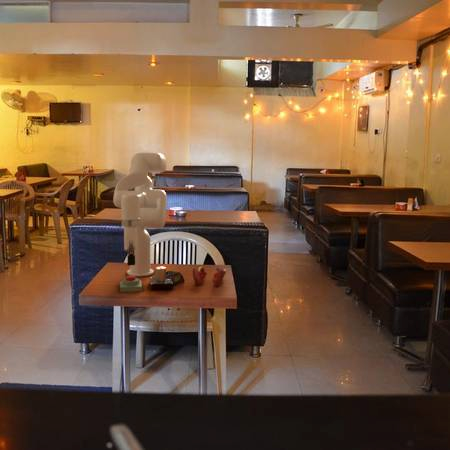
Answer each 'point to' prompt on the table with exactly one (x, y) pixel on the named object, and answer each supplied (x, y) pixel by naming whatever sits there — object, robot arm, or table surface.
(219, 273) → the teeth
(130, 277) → the lid button
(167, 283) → the dial panel
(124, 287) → the button base
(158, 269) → the dial
